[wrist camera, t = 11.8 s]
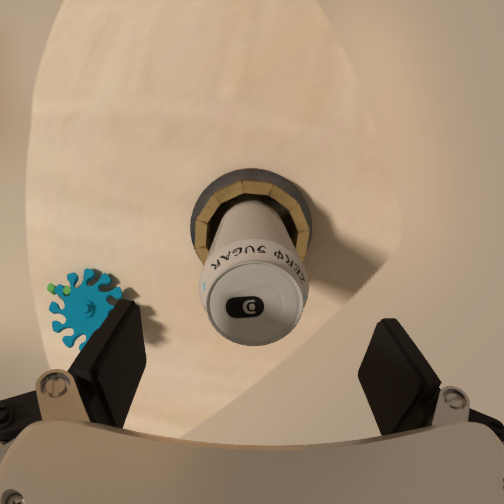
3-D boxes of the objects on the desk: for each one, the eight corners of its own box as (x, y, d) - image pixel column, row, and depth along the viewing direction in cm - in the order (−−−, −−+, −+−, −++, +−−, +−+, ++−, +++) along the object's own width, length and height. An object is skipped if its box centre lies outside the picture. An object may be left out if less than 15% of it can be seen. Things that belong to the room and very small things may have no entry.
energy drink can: (283, 255, 29) (313, 349, 15) (223, 260, 29) (203, 357, 15) (280, 196, 27) (316, 244, 13) (217, 200, 27) (183, 254, 13)
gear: (141, 295, 30) (97, 370, 25) (145, 307, 35) (109, 371, 31) (71, 247, 30) (27, 313, 25) (83, 265, 35) (46, 323, 30)
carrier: (196, 163, 27) (187, 165, 23) (316, 175, 28) (328, 179, 24) (191, 275, 31) (183, 293, 27) (299, 284, 32) (306, 303, 28)
